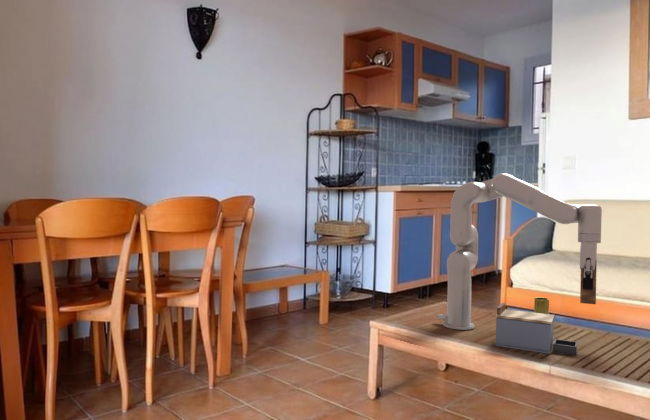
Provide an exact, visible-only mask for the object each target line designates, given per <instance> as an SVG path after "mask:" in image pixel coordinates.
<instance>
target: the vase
mask: <svg viewBox="0 0 650 420" xmlns="http://www.w3.org/2000/svg"><path fill="white" fill-rule="evenodd" d="M533 313H542V314H550V299H549V298H548V297H541V296H536V297H534V307H533Z"/></svg>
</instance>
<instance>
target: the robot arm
mask: <svg viewBox="0 0 650 420" xmlns="http://www.w3.org/2000/svg"><path fill="white" fill-rule="evenodd" d="M453 192H454V193H453V195H452V197H451V203H450V222H449V223H450V224H449V225H450V227H449V228H450V229H449V239H450V242H451V243H452V245H454V246H455V250H454V251H452V252H450V254H449V255H448V256H447V259H446V272H447V274H446V275H447V299H446V300H447V302H446V304H447V305H446V313H445V314H441V313H437V314H436V319H438V320H441V321H442V320H443V322H442V327H445V328H447V329H452V330H459V331H460V330H461V331H469V330H473V329H474V328H475V324H474V323H473V322H472V321H471V320H472V319H471V318H472V316H471V315H472V272H471V271H472V270H473V269H474V268H475V267H476V266H477V264H478V259H479V232H478V229H477V228H476V227H475V226H474V224H472V223H473V220H472V219H473V211H472V206H473V204H481V203H486V202H490V201H494V200H496V199H500V198H502V197H504V198H506V199H509V200H510V201H513V202H515V203H517V204H518V205H521V206H523V207H525V208H527V209H529V210H531V211H534V212H536V213H537V214H540V215H542V216H543V217H545V218H548V219H549V220H552V221H554V222H557V223H559V224H561V225H570V224H577V243H580V246H579V247H580V250H579V270H580V271H581V270H582V269H581V268H584V278H583V289H588V290H592V289H593V279H592V272H593V270H595V264H596V259H597V254H598V253H597V252H598V244H601V243H602V217H603V216H602V212H603V210H602V207H601V205H599V204H572V203H567V202H564V201H563V200H560V199H558V198H556V197H554V196H551V195H550V194H547V193H546V192H544V191H543V190H541V189H540V188H539V187H537V186H534V185H532V184H530V183H528V182H526V181H524V180H521V179H519V178H517V177H515V176H513V175H512V174H509V173H505V172H504V173H503V172H502V173H500V172H499V173H498V174H496V175H495V176H494V177H493V178H490V179H486V180H483V181H481V182H478V181H469V182H465V183H463V184H461V185H460V186H458V188H457V189H456V190H454V191H453ZM586 258H587V261H586ZM590 258H591V263H590ZM591 265H592V266H591ZM585 268H586V269H585ZM590 268H591V270H590Z"/></svg>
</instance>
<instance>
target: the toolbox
mask: <svg viewBox="0 0 650 420" xmlns="http://www.w3.org/2000/svg"><path fill="white" fill-rule="evenodd" d="M554 320H555V319H554ZM554 320H553V322H552V324H545V323H537V322H529V321H521V320H513V319H505V318H496V317H495V346H496V347H503V348H508V349H515V350H522V351H529V352H535V353H542V354H549V355H550V354H551V351H552V349H553V344H554Z"/></svg>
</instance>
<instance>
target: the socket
mask: <svg viewBox="0 0 650 420" xmlns="http://www.w3.org/2000/svg"><path fill="white" fill-rule="evenodd" d="M552 349H553V351H552V353H553V354H555V353H556V354H561V355H570V356H575V357H576V356H577V354H578V353H577V352H578V341H573V340H565V339H558V338H557V339H556V338H555V339H554V340H553V346H552Z"/></svg>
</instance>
